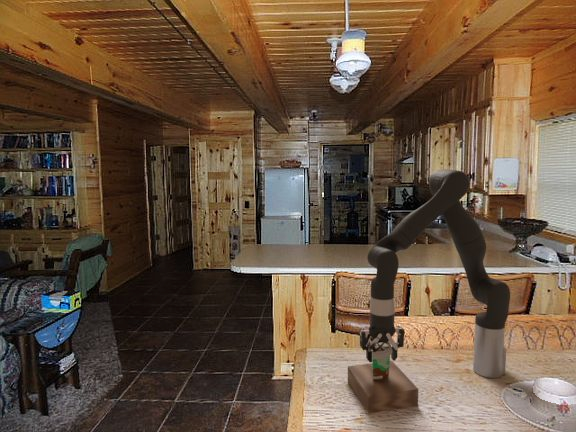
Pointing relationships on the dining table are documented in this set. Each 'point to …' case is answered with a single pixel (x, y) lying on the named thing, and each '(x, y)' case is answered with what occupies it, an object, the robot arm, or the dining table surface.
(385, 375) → the food container
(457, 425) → the dining table surface
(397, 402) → the walnut box
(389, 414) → the dining table surface
